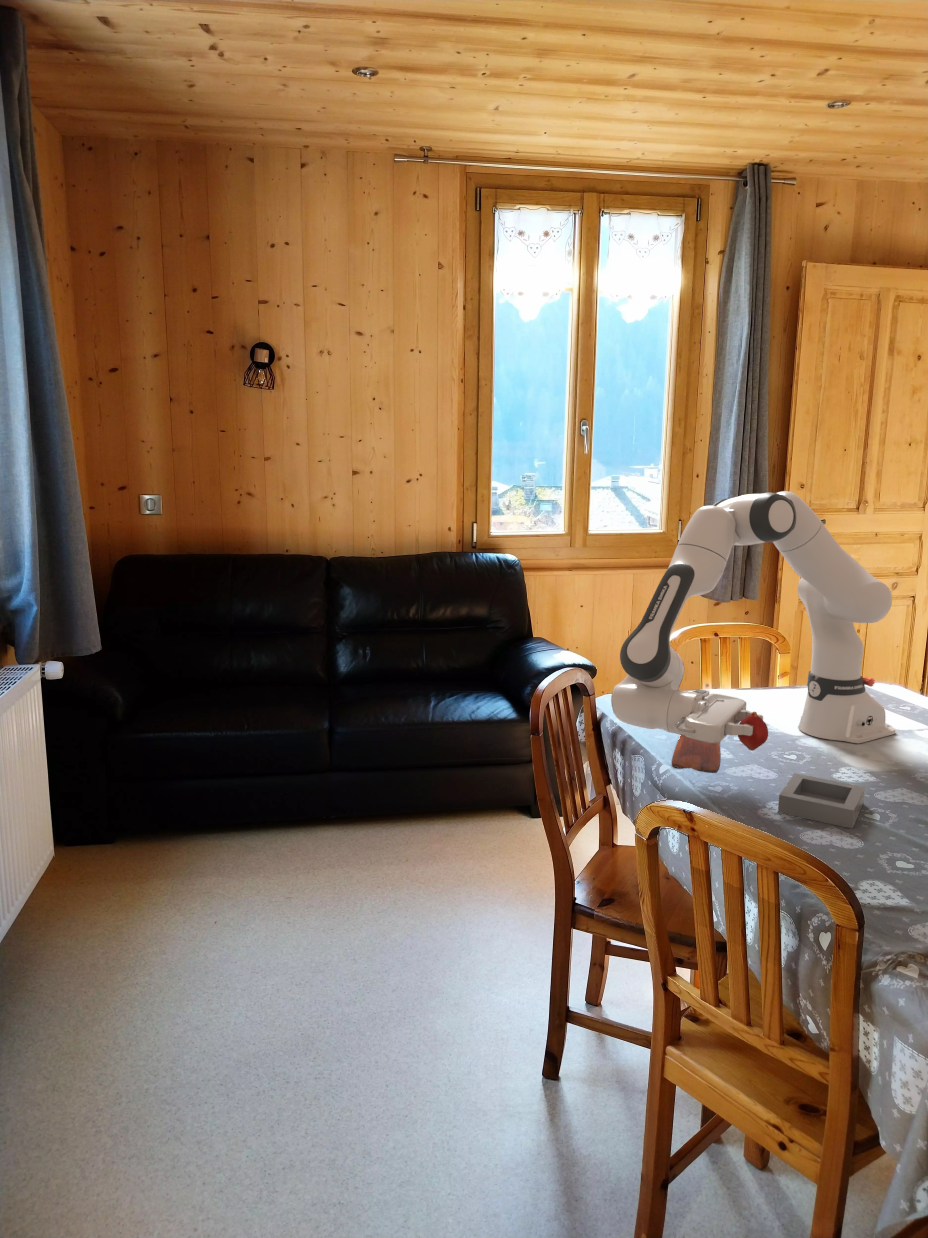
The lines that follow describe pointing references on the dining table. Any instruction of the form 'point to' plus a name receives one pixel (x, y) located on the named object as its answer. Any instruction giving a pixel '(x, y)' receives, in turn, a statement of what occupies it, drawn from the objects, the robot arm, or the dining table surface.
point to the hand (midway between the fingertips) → (757, 725)
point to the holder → (821, 800)
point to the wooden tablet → (696, 755)
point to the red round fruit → (759, 732)
